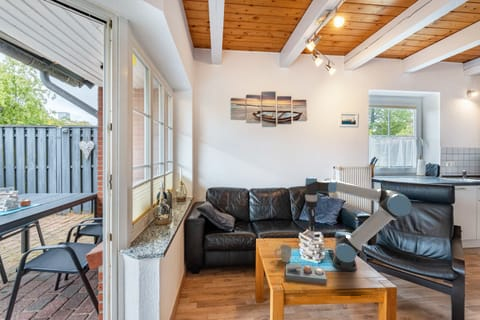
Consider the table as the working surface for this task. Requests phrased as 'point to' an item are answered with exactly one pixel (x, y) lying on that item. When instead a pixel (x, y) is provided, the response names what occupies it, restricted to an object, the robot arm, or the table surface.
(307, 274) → the panel
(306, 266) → the button terracotta
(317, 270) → the button cream
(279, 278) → the table surface
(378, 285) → the table surface
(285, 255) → the mug
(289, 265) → the rocker
